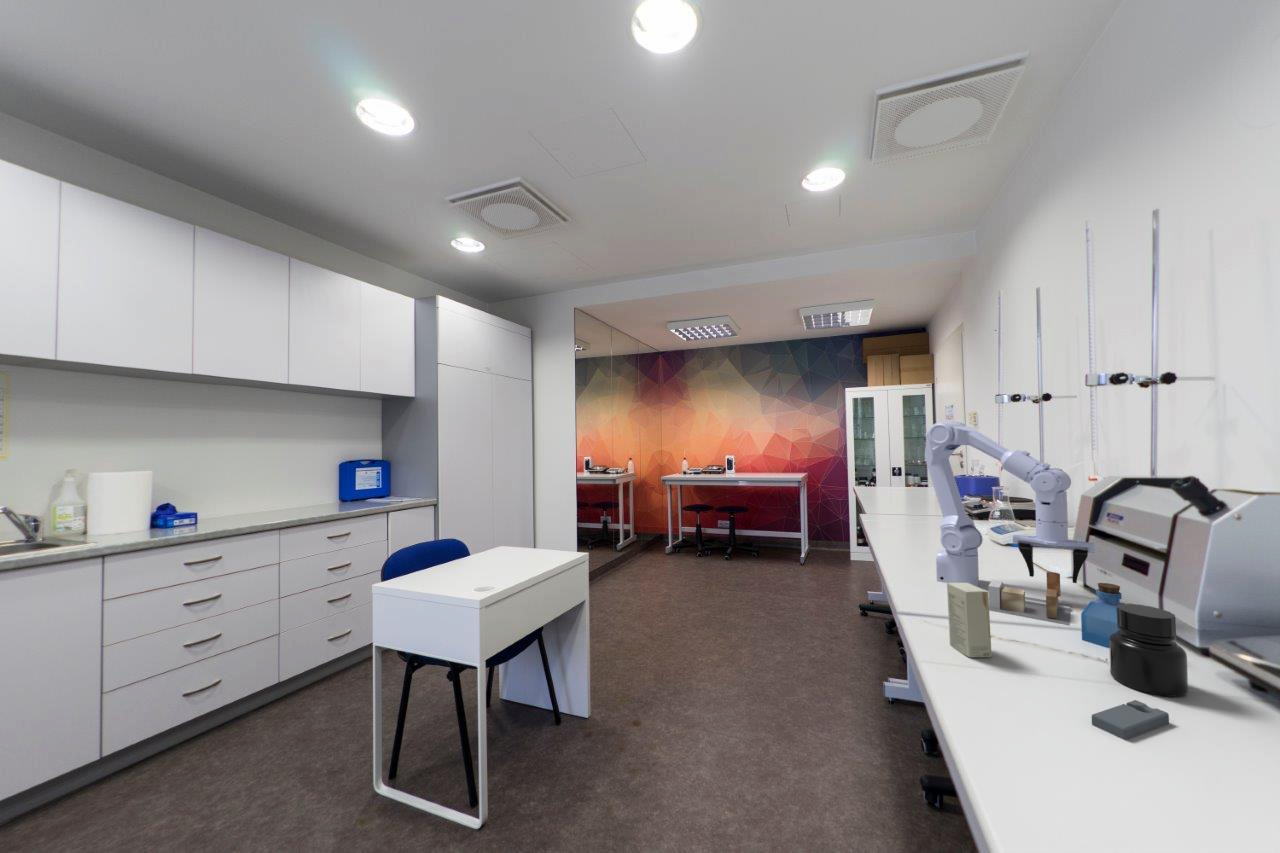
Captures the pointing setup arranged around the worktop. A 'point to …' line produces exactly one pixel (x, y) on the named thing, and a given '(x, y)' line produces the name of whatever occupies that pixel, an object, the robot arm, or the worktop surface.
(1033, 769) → the worktop surface
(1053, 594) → the press jaw
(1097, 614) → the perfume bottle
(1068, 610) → the press base
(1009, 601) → the birch cube
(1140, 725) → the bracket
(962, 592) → the skincare box
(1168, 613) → the ink bottle
